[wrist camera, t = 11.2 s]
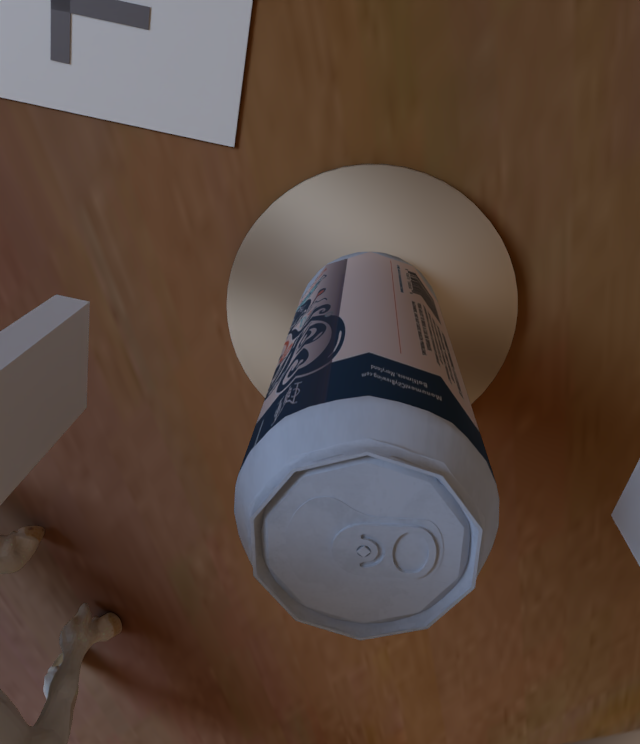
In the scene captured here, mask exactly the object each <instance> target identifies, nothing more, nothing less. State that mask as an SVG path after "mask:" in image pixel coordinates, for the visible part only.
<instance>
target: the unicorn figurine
mask: <svg viewBox="0 0 640 744" xmlns="http://www.w3.org/2000/svg"><path fill="white" fill-rule="evenodd" d="M44 534H45V529H44V528H43V527H41V526H26V527H22V528H20V529H19V531H18V532H16V531H13V532H11V533H10V535H8V536H5V535H1V536H0V574H8V573H14V572H16V571H19V570H20V569H21V568H22V567H23V566H24V565H25V564H26V563H27V562H28V561H29V560H30V558H31V557H32V556H33V554H34V553H35V551H36V549H37V547H38V544H39V543H40V541H41V540H42V538H43V536H44ZM121 630H122V624H121V621H120V619H119V617H118V616H117V615H115V614H114V613H111V612H110V613H107V614H105V615H103V616H101V617H98V616H95V617H94V618H93V619H92V614H91V612H90V610H89V606H88V604H87V603H83V604H82V605H81V606H80V608H79V610H78V613H77V614H76V615H75V616H74V617H73V618H72V619H71V620H70V621H69V622H68V623H67V624H66V626H65V627H64V628H63V630H62V631H61V634H60V639H59V642H60V646H61V649H62V653H61V654H60V655H59V656H58V658H57V659H56V660H55V662H54V663H53V665H52V667H50V668H49V670H48V673H47V675H46V676H45V682H44V687H43V691H44V694H45V696H46V700H47V701H46V703H45V705H44V708H43V710H42V712H41V714H40V716H39V718H38V720H37V722H36V723H35V725H34V726H29V725H28V724H27V723H26V722H25V720H24V719H23V717H22V716H21V714H20V712H19V711H18V709H17V708H16V706H15V705H14V704H13V703H12V701H11V700H10V699H9V698H8V696H7V695H6V694H5V693H4V692H3V691H2V690H1V689H0V744H67V742H68V739H69V735H70V730H71V725H72V720H73V710H74V707H75V703H76V699H77V695H78V682H79V674H80V668H81V664H82V660H83V658H84V655H85V654H86V652H87V651H88V649H89V648H90V647H91V646H92V645H93V644H94V643H96V642H98V641H108V640H109V639H111V638H112V637H114V636H116V635H117V634H119V633H120V632H121Z"/></svg>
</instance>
